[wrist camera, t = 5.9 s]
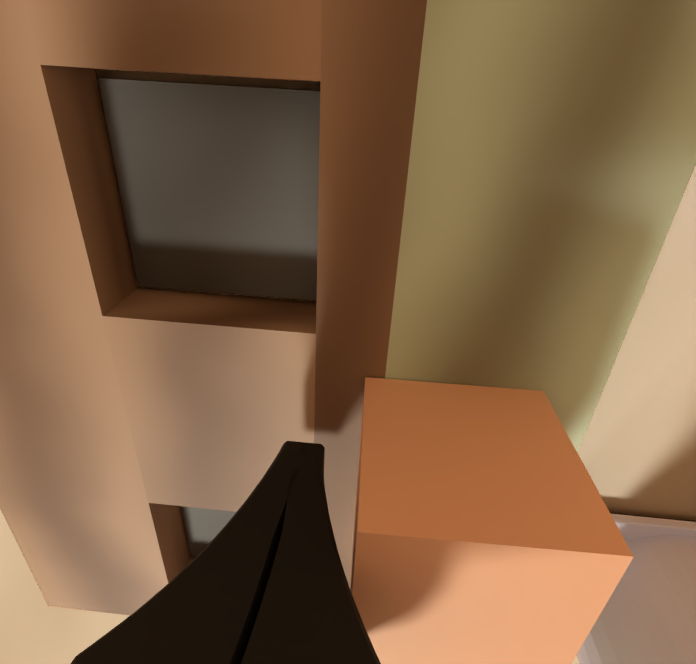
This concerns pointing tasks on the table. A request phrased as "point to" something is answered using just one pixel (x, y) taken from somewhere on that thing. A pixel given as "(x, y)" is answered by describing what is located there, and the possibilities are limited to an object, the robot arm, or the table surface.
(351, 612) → the robot arm
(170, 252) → the trap board
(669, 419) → the table surface
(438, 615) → the block
